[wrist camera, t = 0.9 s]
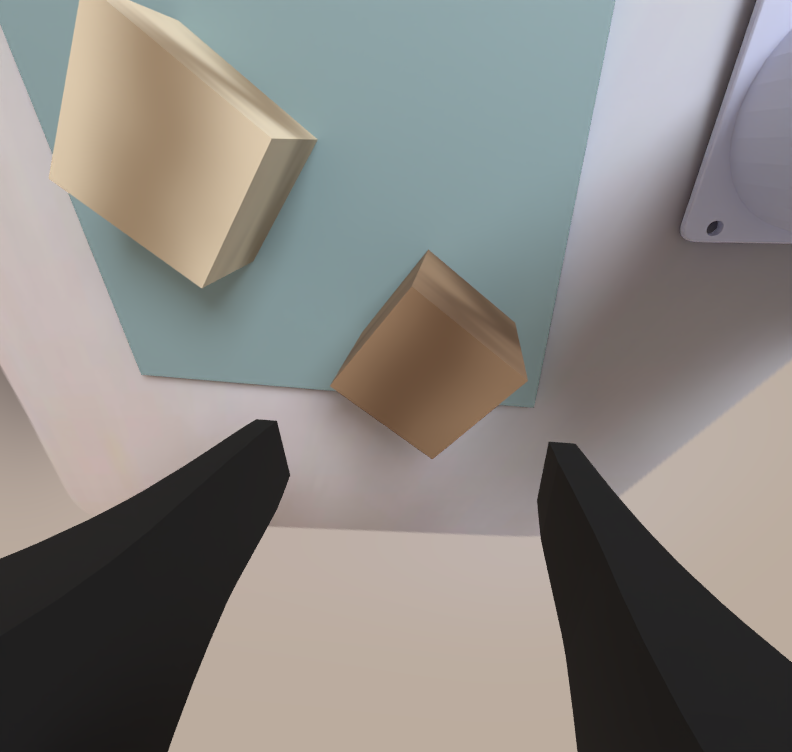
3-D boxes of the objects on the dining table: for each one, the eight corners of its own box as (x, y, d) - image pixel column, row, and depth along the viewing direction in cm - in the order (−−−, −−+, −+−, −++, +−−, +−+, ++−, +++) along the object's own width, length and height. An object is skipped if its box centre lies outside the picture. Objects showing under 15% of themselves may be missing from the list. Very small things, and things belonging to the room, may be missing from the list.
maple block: (317, 139, 15) (271, 138, 12) (253, 261, 18) (201, 288, 15) (178, 20, 14) (82, -20, 10) (134, 171, 17) (48, 178, 13)
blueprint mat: (641, -150, 10) (647, -160, 10) (532, 403, 20) (533, 407, 19) (-26, -66, 14) (-38, -71, 14) (146, 371, 23) (141, 374, 23)
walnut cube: (515, 322, 17) (527, 380, 13) (441, 391, 20) (432, 459, 16) (428, 249, 16) (411, 286, 12) (362, 331, 19) (329, 386, 15)
